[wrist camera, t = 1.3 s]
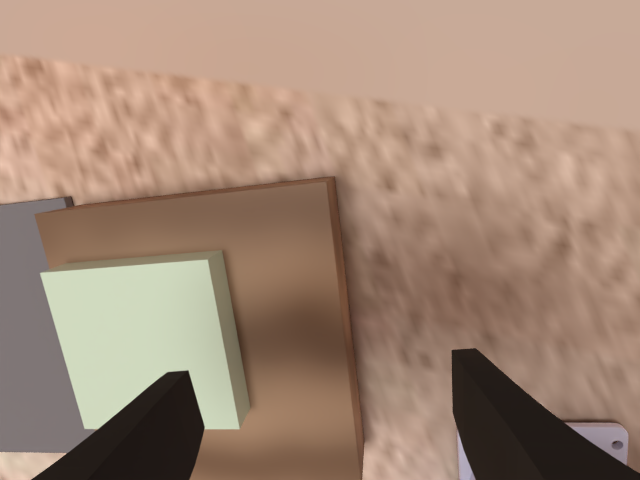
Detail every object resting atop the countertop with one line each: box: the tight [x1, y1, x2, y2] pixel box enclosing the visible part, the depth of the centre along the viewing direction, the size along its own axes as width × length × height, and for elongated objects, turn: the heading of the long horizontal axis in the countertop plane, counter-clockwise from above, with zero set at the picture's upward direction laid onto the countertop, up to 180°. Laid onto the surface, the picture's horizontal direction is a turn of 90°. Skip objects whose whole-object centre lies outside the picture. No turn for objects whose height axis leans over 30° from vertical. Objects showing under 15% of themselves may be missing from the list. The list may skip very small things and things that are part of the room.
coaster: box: [40, 250, 250, 429], centre depth 18 cm, size 8×8×2 cm
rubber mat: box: [0, 197, 95, 453], centre depth 24 cm, size 16×14×1 cm
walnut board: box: [34, 176, 364, 480], centre depth 20 cm, size 15×14×3 cm
